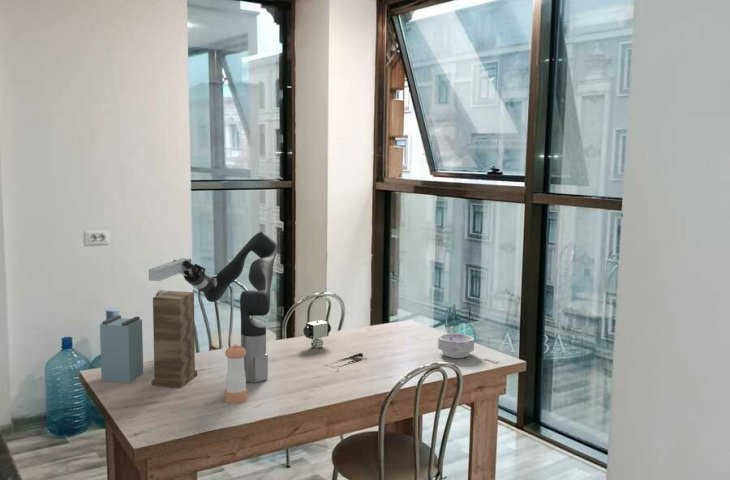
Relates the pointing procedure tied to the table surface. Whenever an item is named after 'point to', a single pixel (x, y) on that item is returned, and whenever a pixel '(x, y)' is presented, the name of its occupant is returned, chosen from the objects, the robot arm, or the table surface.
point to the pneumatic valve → (317, 332)
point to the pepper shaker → (235, 375)
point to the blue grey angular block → (121, 349)
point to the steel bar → (168, 270)
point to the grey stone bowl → (456, 345)
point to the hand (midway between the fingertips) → (179, 262)
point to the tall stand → (173, 339)
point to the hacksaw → (354, 357)
